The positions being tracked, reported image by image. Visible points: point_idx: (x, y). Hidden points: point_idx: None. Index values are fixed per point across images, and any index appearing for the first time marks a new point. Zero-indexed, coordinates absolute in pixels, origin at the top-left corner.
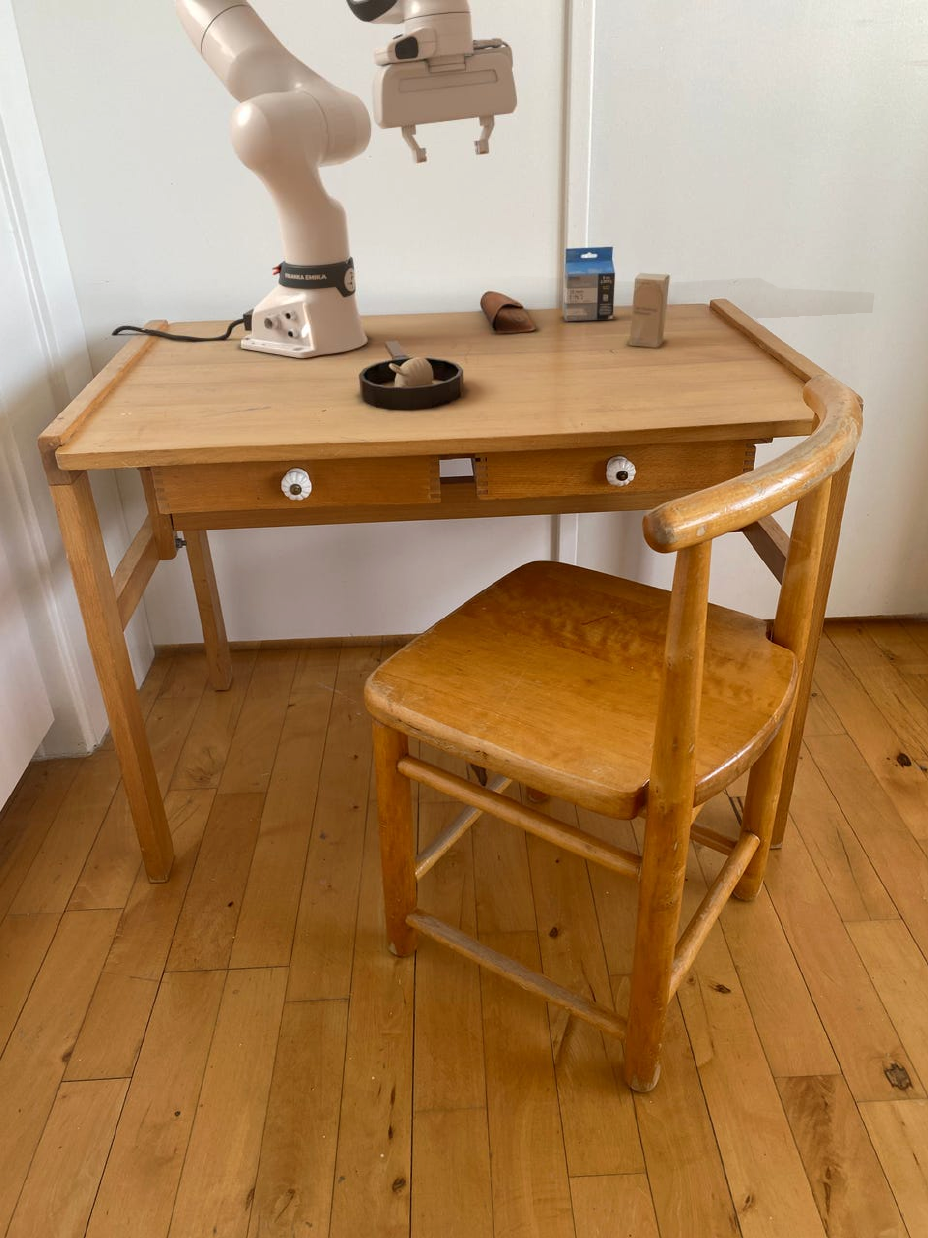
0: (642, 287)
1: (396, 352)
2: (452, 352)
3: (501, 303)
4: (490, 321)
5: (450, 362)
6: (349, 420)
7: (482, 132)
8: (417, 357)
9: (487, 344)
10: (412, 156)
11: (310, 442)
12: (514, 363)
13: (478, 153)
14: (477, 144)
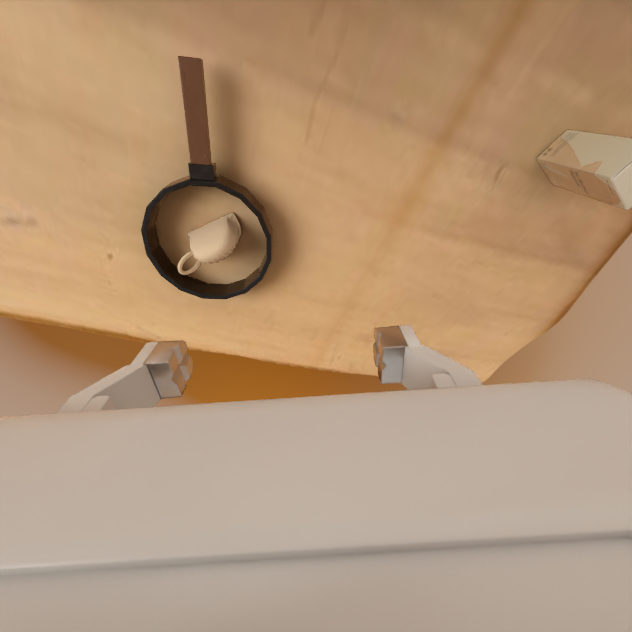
0: (603, 185)
1: (196, 142)
2: (304, 59)
3: None
4: None
5: (263, 227)
6: (142, 291)
7: (424, 366)
8: (215, 252)
9: (374, 33)
10: (141, 350)
11: (109, 329)
12: (365, 170)
13: (373, 349)
14: (378, 365)
